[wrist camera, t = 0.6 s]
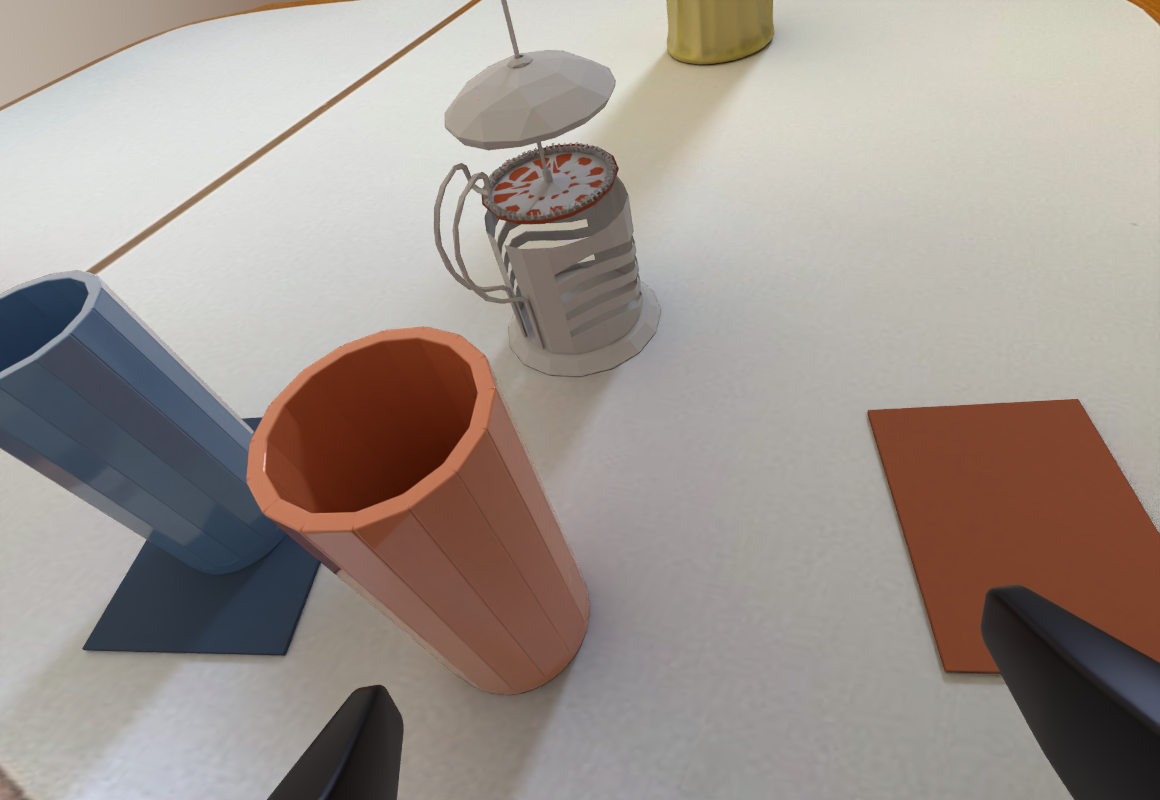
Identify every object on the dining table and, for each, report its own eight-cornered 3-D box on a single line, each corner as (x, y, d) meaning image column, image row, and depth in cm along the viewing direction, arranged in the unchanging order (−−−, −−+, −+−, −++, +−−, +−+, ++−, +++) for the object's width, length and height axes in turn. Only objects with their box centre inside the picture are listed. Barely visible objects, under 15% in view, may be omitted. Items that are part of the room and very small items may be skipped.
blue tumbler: (273, 574, 29) (18, 391, 19) (160, 575, 30) (-138, 404, 20) (320, 463, 33) (134, 262, 23) (220, 467, 34) (-1, 279, 24)
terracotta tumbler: (584, 698, 23) (465, 528, 12) (427, 692, 24) (198, 533, 14) (594, 542, 27) (511, 317, 17) (460, 544, 28) (304, 336, 18)
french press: (694, 306, 36) (659, -335, 17) (554, 423, 32) (316, -240, 13) (586, 252, 42) (472, -276, 23) (456, 346, 38) (191, -197, 19)
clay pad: (1242, 679, 20) (1246, 678, 19) (944, 672, 21) (946, 670, 21) (1076, 401, 27) (1078, 398, 27) (867, 412, 29) (867, 410, 29)
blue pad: (285, 655, 26) (282, 654, 26) (85, 650, 29) (81, 649, 28) (377, 412, 35) (375, 410, 35) (219, 421, 37) (217, 420, 37)
